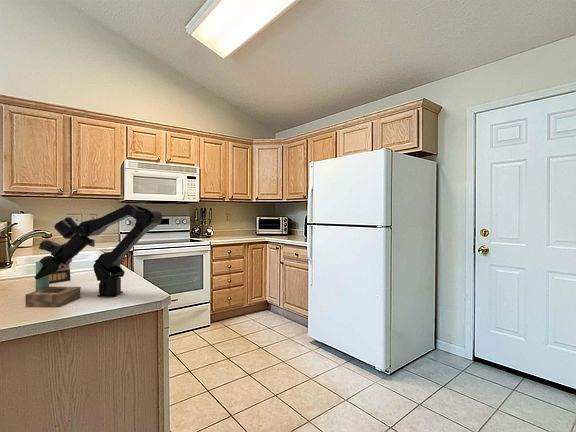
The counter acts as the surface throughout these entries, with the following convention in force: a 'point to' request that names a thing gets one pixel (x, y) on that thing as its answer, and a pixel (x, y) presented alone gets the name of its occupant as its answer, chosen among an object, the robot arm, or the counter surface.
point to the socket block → (52, 296)
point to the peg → (42, 281)
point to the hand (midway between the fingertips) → (37, 277)
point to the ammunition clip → (60, 275)
